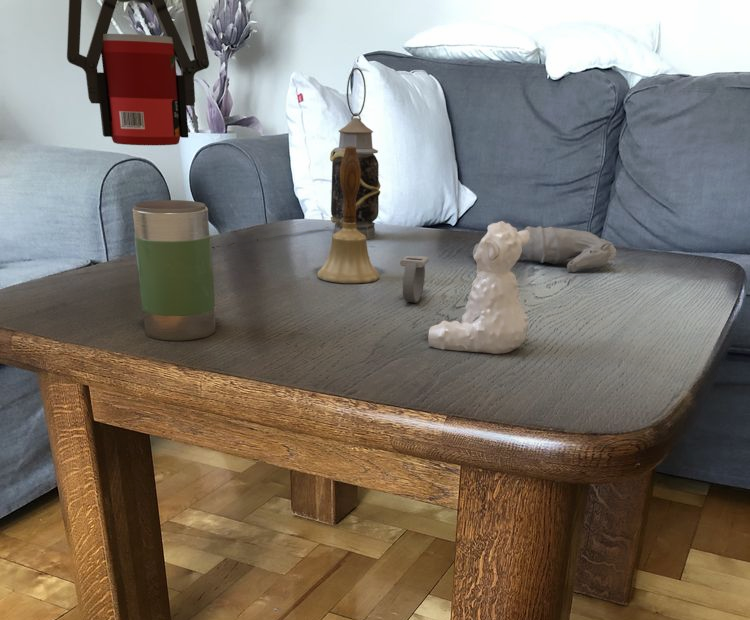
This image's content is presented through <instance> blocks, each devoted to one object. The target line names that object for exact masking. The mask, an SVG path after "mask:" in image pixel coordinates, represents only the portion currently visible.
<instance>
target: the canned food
mask: <svg viewBox="0 0 750 620" xmlns="http://www.w3.org/2000/svg"><path fill="white" fill-rule="evenodd" d="M103 44H104V46H103V49H102V52H101V63H102V73H105V81H106V91H107V100H108V110H109V119H110V129H111V137H110V138H111V140H112V142H113V144H117V145H127V146H175V145H178V144H179V143H180V140H181V137H180V122H179V107H178V92H177V77H176V75H177V62H176V60H175V52H174V47H173V41H172V38H171V37H167V36H165V35H153V34H135V33H134V34H133V33H107V34H103Z"/></svg>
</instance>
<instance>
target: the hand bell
mask: <svg viewBox="0 0 750 620" xmlns="http://www.w3.org/2000/svg"><path fill="white" fill-rule="evenodd" d="M360 174H361V171H360V163H359V159H358V156H357V152H356V147H352V146H347V147H346V148H345V152H344V156H343V159H342V162H341V167H340V184H341V189H342V193H343V198H344V212H343V215H344V217H343V228H342V230H340V231H339V232H337V233H335V234H334V233H333V234H332V236H331V242H330V243H331V244H330V250H329V253H328V257H327V259H326V261H325V263H324V264H323V266H322V267H321V268H319V270H318V271H317V274H316V276H317V278H318V279H320V280H322V281H325V282H330V283H335V284H336V283H337V284H349V285H352V284H353V285H354V284H355V285H356V284H367V283H373V282H377V281H378V280H379V279H380V277H381V276H380V273H379V272H378V271H377V270H376V268H375V267H374V266H373V263H372V262H371V260H370V256H369V251H368V244H367V240H366V236H365V235H364V234H362V233H361V232H359V231H358V230H357V229H356V198H357V193H358V190H359V186H360Z"/></svg>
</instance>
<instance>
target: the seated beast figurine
mask: <svg viewBox="0 0 750 620" xmlns="http://www.w3.org/2000/svg"><path fill="white" fill-rule="evenodd" d="M486 227H487V232H486V234H484V235H483V236H482V238H481V239H480V241H479V243H480V244H479V243H478V244H479V246H478V249H477V251H476V253H475V255H474V258H473V260H474V261H475V262H476V263H475V264H476V269H475V272H476V276H475V278H474V280H473V281H472V283H471V288H470V292H469V294H468V300H467V303H466V305H465V312H464V314H462V315H461V322H459V320H452V321H448V320H442V321H440V323H437V324H435V325H431V326H430V328H429V329H428V338H427V341H428V347H430V348H431V347H432V348H434V349H440V350H442V351H444V350H449V351H459V352H471V353H486V354H493V355H494V354H495V355H500V354H507V353H510V352H512V351H514V350H516V349H518V348H520V347H521V345H522V344H523V342H524V341H526V340H527V333H528V329H529V326H530V323H529V321H528V319H529V317H528V316H527V315H526V313H525V311H524V309H523V307H522V304H521V299H520V298H519V295H520V289H519V285H518V283H519V282H518V280H517V279H516V275H515V274H514V272H513V271H511V269H512V268H513V267H514V266H515V265H516V263H517V262H518V261H519V260H520V258H521V255H522V254H521V253H522V246H523V245H526V244H527V243H528V242H529V238H530V234H529V232H528V230H525V229H523V230H522V229H521V230H519V231H518V229H517V228H516V227H515V226H512V225H511V224H510V223H509V222H505V221H503V220H501V221H497V222H494V223H490V224H489V225H488V226H486Z"/></svg>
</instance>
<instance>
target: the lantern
mask: <svg viewBox="0 0 750 620" xmlns="http://www.w3.org/2000/svg"><path fill="white" fill-rule="evenodd" d="M356 70H357V71H358V72H359V73H360V75H361V77H362V81H363V103H362V106H361V109H360V110H359V112H358V113H357V112H353V111H352V108H351V105H350V99H349V89H350V88H349V86H350V81H351V77H352V75H353V73H354V72H355V71H356ZM366 94H367V87H366V79H365V75H364V73H363V71H362V70H361V69H360V67H354V68H353V69H352V70H351V71H350V74H349V76H348V78H347V84H346V103H347V107H348V110H349V112H350V114H351V115H352V116H351V117H350V118H351V119H350V121H349V122H348V123H347V124H346V125H344V126H343V127H342V128H340V129H339V130H338V133H339V138H338V139H339V141H338V142H339V143H338V147H334V148H333V149H332V150H331V151H330V154H329V155H330V156H329V161H330V162H332V163H331V165H332V166H331V167H332V168H331V190H330V191H331V194H330V195H331V197H330V213H331V217H330V221H331V222H332V223H333V224H334V227H333V234H335V233H337V232H339V231H340V230H342V228H343V217H344V215H343V212H344V198H343V193H342V189H341V184H340V167H341V162H342V159H343V156H344V152H345V148H346V147H347V146H352V147H356V152H357V156H358V159H359V163H360V171H361V174H360V186H359V190H358V193H357V198H356V229H357V230H358V231H359V232H361V233H362V234H364V235H365V236H366V241H367V240H371V239H373V238H375V237H376V235H375V234H376V230H375V229H376V228H375V225H376V223H375V222H374V221H376V220H377V219H378V217H379V205H380V204H379V203H380V202H379V199H380V198H379V196H380V195H381V190H380V189H381V183H380V179H379V178H380V177H379V176H380V175H379V171H380V170H379V167H380V165H379V161H378V158H377V157H376V155H375V154H378V153H379V150H378V149H375V148H373V147H374V146H373V136H372V134H373V133H374V131H373V130H372V129H371V128H369V127H368V126H367V125H365V124H364V122H362V117H361V114H362V112H363V110H364V107H365V103H366Z"/></svg>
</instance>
